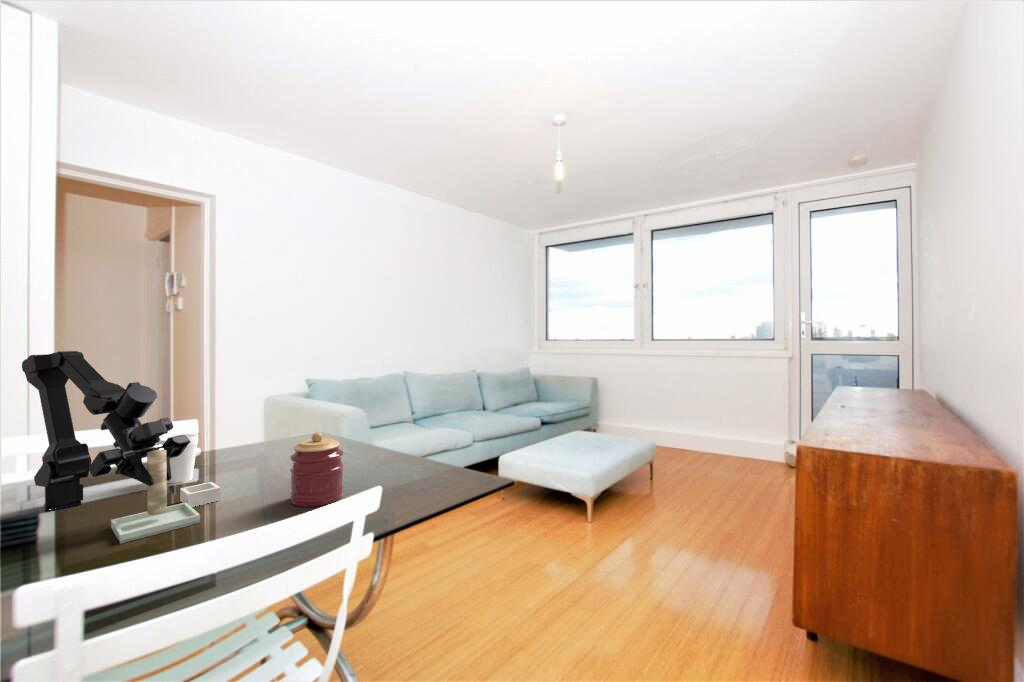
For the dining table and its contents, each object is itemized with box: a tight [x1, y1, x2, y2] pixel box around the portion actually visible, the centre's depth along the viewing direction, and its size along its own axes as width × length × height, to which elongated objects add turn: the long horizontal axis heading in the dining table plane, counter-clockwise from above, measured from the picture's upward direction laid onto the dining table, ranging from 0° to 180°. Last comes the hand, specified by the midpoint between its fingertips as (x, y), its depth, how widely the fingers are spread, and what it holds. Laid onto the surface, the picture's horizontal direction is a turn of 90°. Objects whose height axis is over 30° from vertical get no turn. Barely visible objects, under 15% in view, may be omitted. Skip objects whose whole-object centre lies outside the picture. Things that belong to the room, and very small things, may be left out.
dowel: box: [146, 450, 168, 515], centre depth 103 cm, size 4×4×14 cm
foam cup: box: [158, 433, 199, 484], centre depth 134 cm, size 10×9×13 cm
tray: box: [110, 502, 201, 545], centre depth 102 cm, size 14×12×2 cm
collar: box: [179, 481, 221, 508], centre depth 117 cm, size 7×7×4 cm
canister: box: [289, 431, 345, 508], centre depth 118 cm, size 13×13×18 cm
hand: (161, 482), depth 103 cm, fingers closed on dowel, 3 cm apart
